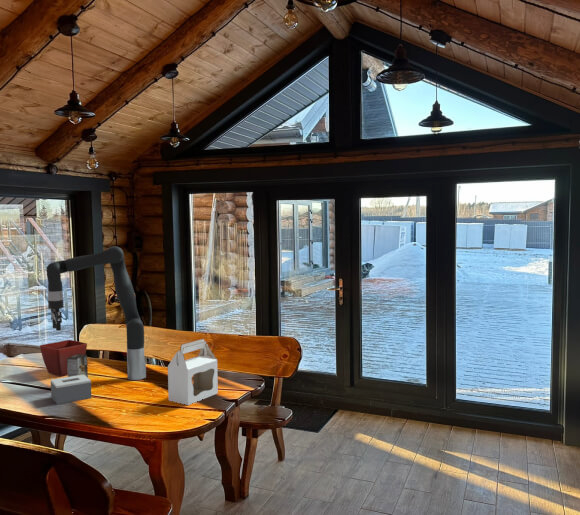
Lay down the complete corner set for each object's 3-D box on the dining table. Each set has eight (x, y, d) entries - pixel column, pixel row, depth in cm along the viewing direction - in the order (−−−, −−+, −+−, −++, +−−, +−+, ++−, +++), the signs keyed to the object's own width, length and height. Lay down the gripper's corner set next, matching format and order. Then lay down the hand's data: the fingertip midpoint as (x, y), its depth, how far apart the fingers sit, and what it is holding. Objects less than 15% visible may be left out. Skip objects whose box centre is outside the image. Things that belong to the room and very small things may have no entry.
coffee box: (77, 382, 291) (77, 353, 290) (88, 383, 290) (87, 354, 289) (67, 387, 282) (66, 358, 281) (78, 388, 281) (77, 358, 280)
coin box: (84, 391, 276) (83, 374, 275) (91, 398, 265) (90, 380, 265) (51, 397, 267) (50, 379, 266) (57, 404, 256) (56, 386, 255)
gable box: (187, 405, 254) (186, 347, 252) (167, 400, 261) (166, 344, 259) (218, 393, 272) (217, 339, 270) (199, 389, 279) (198, 336, 278)
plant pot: (70, 366, 325) (69, 339, 324) (88, 371, 313) (87, 343, 312) (40, 373, 309) (39, 345, 308) (58, 379, 298) (57, 349, 297)
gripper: (66, 300, 282) (67, 330, 283) (60, 297, 294) (61, 326, 295) (51, 301, 278) (52, 332, 279) (45, 298, 289) (46, 328, 290)
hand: (56, 329), depth 287 cm, fingers open, 8 cm apart
